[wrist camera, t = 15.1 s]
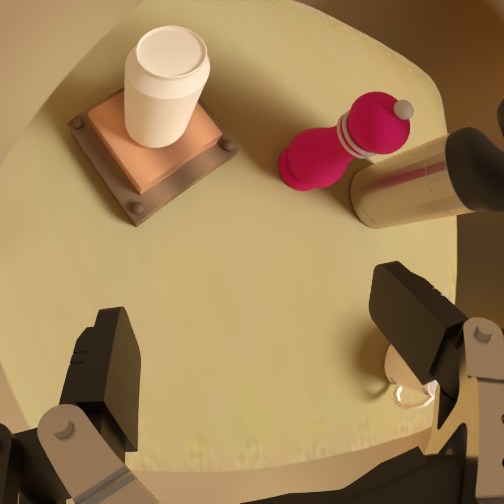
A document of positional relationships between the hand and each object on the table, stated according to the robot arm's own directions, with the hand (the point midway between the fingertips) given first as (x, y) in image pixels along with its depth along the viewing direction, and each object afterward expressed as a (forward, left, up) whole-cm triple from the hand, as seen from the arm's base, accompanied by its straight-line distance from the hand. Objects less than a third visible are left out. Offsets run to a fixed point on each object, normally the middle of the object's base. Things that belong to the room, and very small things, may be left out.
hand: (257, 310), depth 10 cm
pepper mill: (-22, -1, -27) cm, 34 cm away
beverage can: (-8, -14, -21) cm, 26 cm away
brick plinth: (-8, -14, -26) cm, 31 cm away
